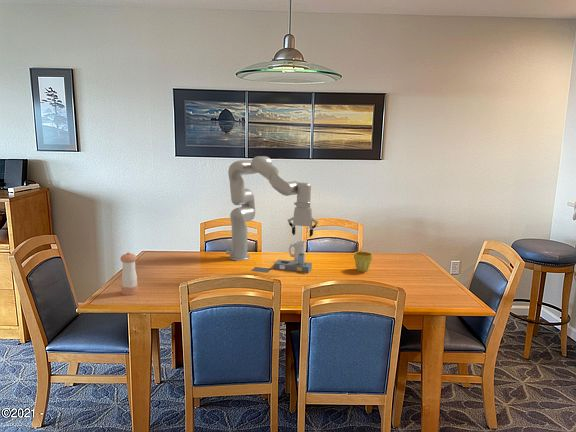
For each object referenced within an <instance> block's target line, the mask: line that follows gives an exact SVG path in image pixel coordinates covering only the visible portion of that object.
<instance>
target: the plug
mask: <svg viewBox="0 0 576 432" xmlns="http://www.w3.org/2000/svg"><path fill="white" fill-rule="evenodd" d="M305 262H306V253H305V254H304V253H300V254H299V255H298V265H303V266H305Z"/></svg>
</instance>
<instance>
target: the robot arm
mask: <svg viewBox="0 0 576 432" xmlns="http://www.w3.org/2000/svg"><path fill="white" fill-rule="evenodd" d="M227 173H228V174H227V175H228V180H229V190H230V198H231V199H230V201H231V203H232V205H234V206H239V207H236V208H233V209H232V211H230V214H229V218H230V225H231V250H225V254H226V255H229V257H228V258H229V260H231V261H236V262H237V261H241V262H242V261H245V260H246V261H247V260H249V259H250V258H251V255H248V226H247V223H246V222H251V221H253V220H254V219H255V217H256V203H255V195H254V193H253V191H252V190H251V189H249V188H245V182H244V179H243V177H242V176H243V175H255V174H259V175H261V176H262V177H264V178H265V179H266V180H267V181H268V182H269V184H270V186H271V188H273V189H274V190H275V191H277V192H278V193H279V194H281V195H282V196H285V197H288V196H289V197H290V196H294V195H296V202H294V203H293V205H294V206H295V207H294V211H293V217H291V218H289V219H287V222H288V225H289V226H290V227H291V234H292V235H293V236H295V235H296V226H297V227H309V228H310V229H309V237H312V236H313V235H314V229H315V228H316V227H317V226H318V224H319V221H318V220H316V219H314V218H313V210H312V207H311V195H312V193H311V191H312V185H311V183H310V182H299V181H296V180H295V181H294V180H293V181H286V180H284V179H283V178H282V177H280V175H279V168H278V167H276V166H275V165H273V160H272V159H271V158H270V157H269V156H266V155H262V156H261V155H260V156H259V155H258V156H255V157H253V158H252V159H246V160H245V159H243V160H236V161H233V162H232V163H231V164H230V166H229V167H228V171H227ZM292 222H293V223H292ZM313 224H314V225H313Z"/></svg>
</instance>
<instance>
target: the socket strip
mask: <svg viewBox="0 0 576 432" xmlns="http://www.w3.org/2000/svg"><path fill="white" fill-rule="evenodd" d="M312 268H313V263H312V262H306V261H305V266H303V265H298V261H294V260H287V259H277V260H276V261H275V262H274V263H273V270H281V271H288V272H297V273H301V272H302V274H309V273H310V272H311V270H312Z"/></svg>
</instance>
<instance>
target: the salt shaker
mask: <svg viewBox="0 0 576 432" xmlns="http://www.w3.org/2000/svg"><path fill="white" fill-rule="evenodd" d="M136 261H137V256H136V254H134V253H131V252H126V253H124V254H122V255H121V256H120V262H122V264H121V265H122V272H121V273H122V274H121V286H120V289H121V291H120V292H121V295H123V296H132V295H136V294H138V293H139V284H138V275H137V272H136Z"/></svg>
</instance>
